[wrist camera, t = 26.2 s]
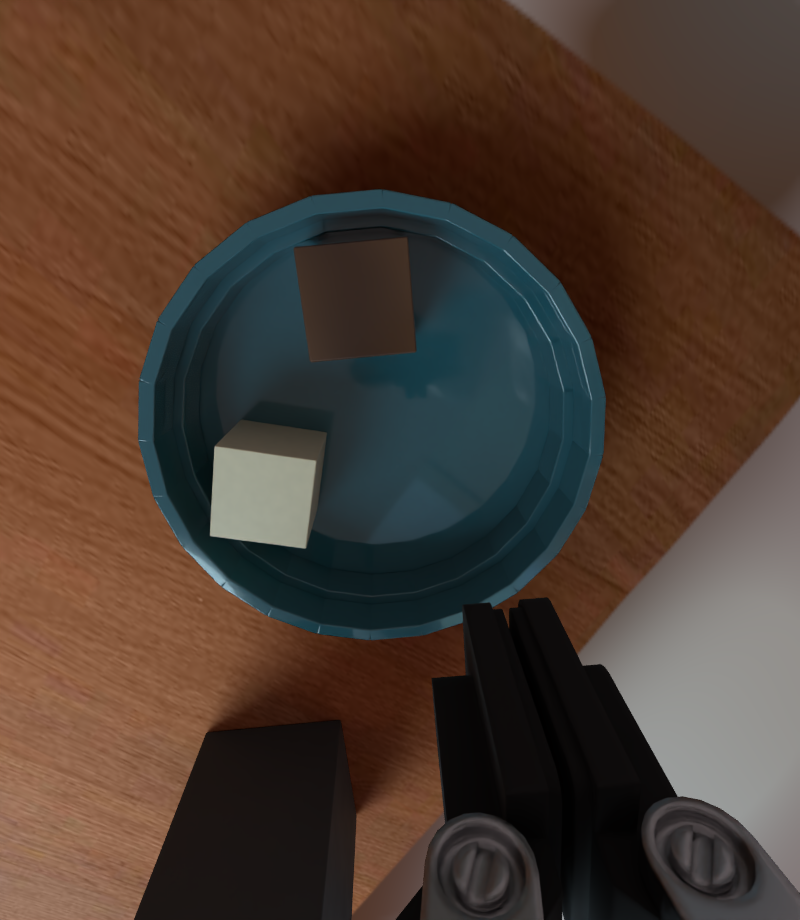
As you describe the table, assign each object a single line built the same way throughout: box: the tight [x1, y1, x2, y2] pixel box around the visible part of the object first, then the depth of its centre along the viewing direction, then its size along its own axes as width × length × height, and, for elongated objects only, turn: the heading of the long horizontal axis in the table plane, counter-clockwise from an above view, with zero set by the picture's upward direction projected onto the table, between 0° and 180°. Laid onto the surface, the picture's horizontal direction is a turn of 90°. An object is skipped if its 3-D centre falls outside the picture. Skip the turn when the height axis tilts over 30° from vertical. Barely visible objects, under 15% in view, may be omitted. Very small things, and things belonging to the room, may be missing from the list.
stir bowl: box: [138, 189, 606, 640], centre depth 23 cm, size 18×18×4 cm
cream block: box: [210, 420, 327, 548], centre depth 23 cm, size 4×4×4 cm
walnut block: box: [293, 237, 417, 362], centre depth 21 cm, size 4×4×4 cm
